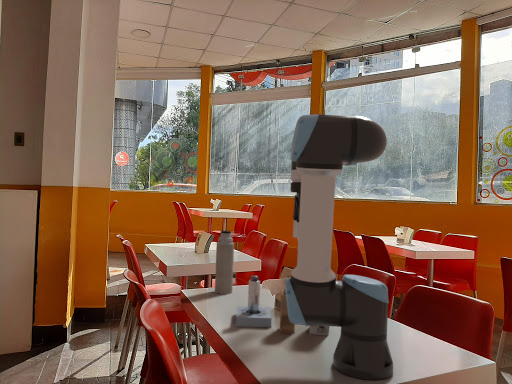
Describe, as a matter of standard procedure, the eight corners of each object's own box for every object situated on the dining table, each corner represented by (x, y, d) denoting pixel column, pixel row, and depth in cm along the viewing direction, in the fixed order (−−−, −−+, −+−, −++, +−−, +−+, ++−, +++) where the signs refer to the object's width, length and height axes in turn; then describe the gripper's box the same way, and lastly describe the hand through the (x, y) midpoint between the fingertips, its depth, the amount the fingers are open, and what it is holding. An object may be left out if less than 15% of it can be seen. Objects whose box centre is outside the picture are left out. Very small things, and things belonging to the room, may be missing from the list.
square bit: (294, 333, 130) (295, 290, 130) (280, 332, 130) (282, 290, 130) (292, 328, 134) (294, 288, 135) (279, 328, 134) (281, 287, 135)
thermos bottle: (227, 289, 189) (229, 230, 190) (235, 293, 182) (237, 231, 183) (211, 290, 185) (214, 230, 186) (219, 294, 178) (221, 231, 179)
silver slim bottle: (258, 322, 140) (260, 277, 140) (247, 322, 140) (249, 277, 140) (258, 318, 144) (260, 275, 144) (247, 318, 144) (248, 275, 144)
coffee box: (310, 325, 139) (312, 279, 139) (329, 327, 137) (331, 280, 138) (308, 334, 130) (310, 284, 130) (329, 336, 128) (330, 285, 129)
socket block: (271, 327, 135) (271, 318, 135) (235, 326, 135) (235, 317, 135) (268, 315, 149) (269, 307, 149) (236, 314, 149) (237, 306, 149)
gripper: (316, 180, 137) (314, 243, 136) (306, 183, 162) (304, 236, 161) (294, 179, 137) (292, 242, 136) (287, 182, 162) (285, 235, 161)
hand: (298, 239), depth 149 cm, fingers open, 13 cm apart
